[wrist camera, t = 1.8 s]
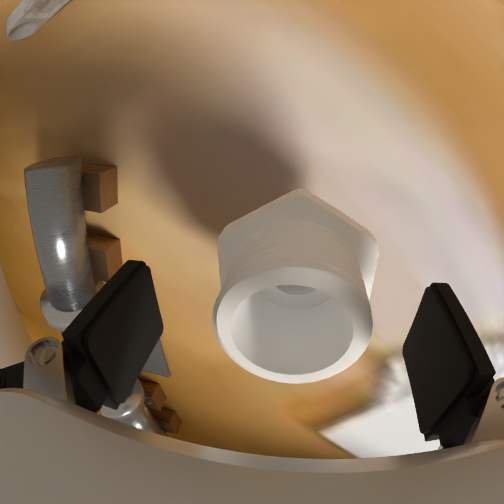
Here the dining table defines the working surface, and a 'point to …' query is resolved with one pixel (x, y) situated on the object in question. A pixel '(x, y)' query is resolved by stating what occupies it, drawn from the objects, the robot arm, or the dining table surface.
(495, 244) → the dining table surface
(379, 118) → the dining table surface
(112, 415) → the shaft
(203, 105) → the dining table surface
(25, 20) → the wrench
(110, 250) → the shaft
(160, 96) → the dining table surface
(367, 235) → the pipe fitting
